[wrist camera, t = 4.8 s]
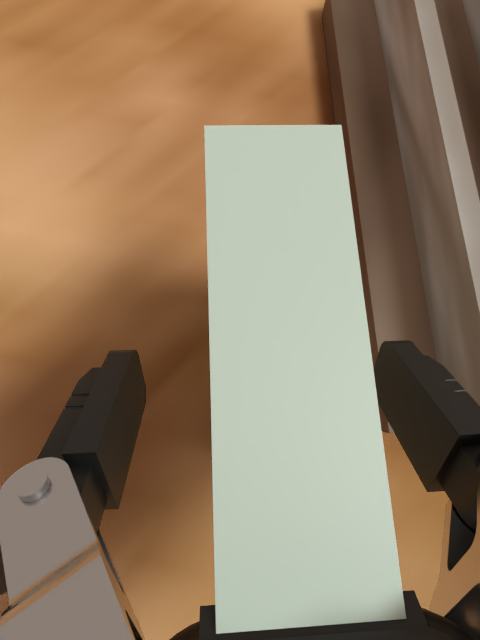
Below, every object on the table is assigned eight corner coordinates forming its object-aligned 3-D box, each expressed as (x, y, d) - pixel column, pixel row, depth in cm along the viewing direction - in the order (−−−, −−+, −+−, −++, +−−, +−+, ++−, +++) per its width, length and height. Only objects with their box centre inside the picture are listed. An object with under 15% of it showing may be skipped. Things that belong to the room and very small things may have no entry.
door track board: (374, 429, 15) (432, 444, 11) (321, 15, 21) (346, -84, 17) (607, 417, 16) (750, 427, 12) (496, 17, 22) (565, -78, 17)
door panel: (224, 459, 15) (215, 633, 4) (219, 295, 17) (204, 125, 6) (279, 456, 15) (406, 618, 4) (268, 294, 17) (341, 125, 6)
